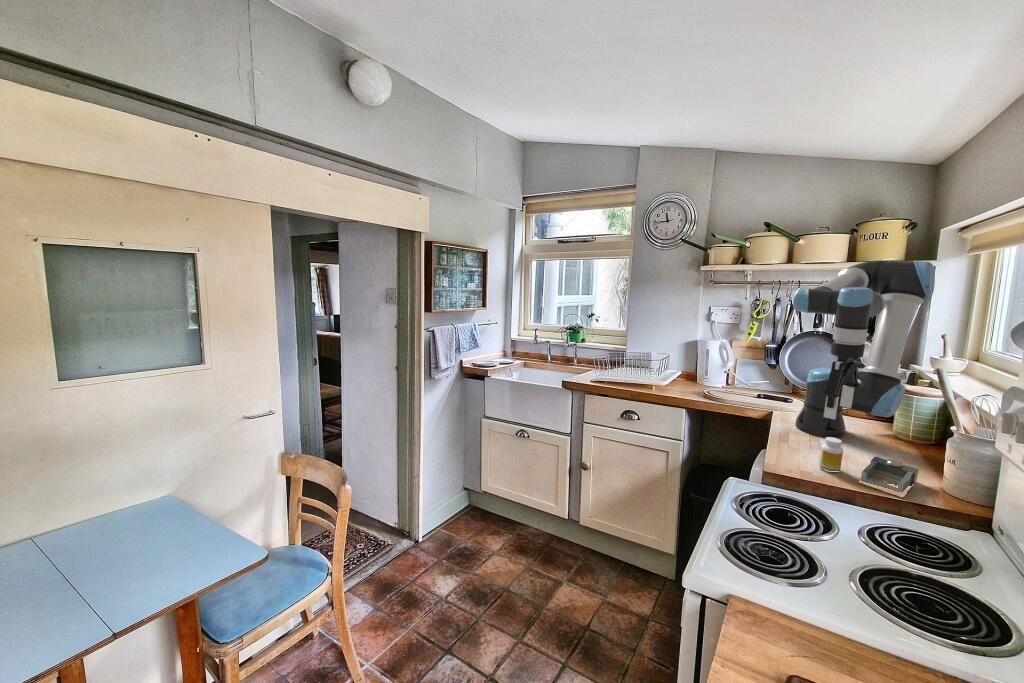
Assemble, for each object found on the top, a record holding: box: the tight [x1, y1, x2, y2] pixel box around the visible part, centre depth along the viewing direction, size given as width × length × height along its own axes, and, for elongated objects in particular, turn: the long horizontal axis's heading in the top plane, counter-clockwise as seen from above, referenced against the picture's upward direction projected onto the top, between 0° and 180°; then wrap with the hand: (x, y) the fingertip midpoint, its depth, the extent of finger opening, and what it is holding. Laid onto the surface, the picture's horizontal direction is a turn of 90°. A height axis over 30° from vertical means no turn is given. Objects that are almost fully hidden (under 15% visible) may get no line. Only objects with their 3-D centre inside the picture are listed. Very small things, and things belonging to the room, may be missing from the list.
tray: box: [859, 456, 920, 493], centre depth 124 cm, size 14×10×5 cm
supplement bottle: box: [818, 437, 844, 472], centre depth 132 cm, size 5×5×10 cm
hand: (837, 412), depth 129 cm, fingers open, 13 cm apart
